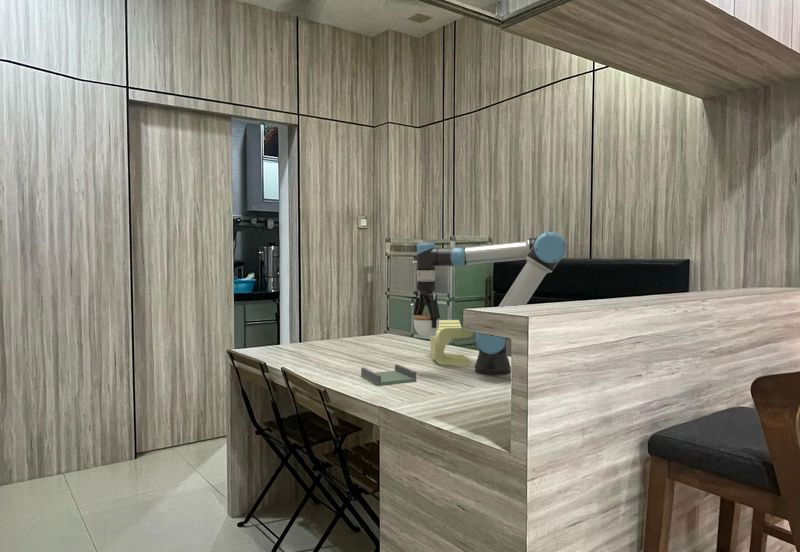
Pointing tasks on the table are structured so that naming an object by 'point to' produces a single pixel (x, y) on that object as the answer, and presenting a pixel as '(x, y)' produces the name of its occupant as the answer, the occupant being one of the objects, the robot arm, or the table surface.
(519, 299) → the robot arm
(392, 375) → the tray
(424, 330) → the lidded jar
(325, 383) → the table surface
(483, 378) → the table surface
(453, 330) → the slatted curved stool
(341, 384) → the table surface
